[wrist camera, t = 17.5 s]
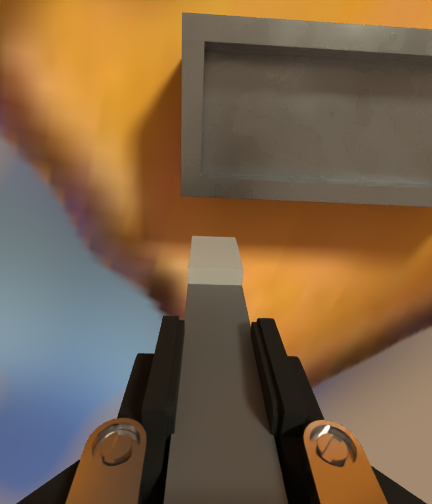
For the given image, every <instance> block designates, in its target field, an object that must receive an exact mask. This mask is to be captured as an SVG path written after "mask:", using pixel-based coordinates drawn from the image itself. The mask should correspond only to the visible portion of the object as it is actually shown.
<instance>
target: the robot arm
mask: <svg viewBox="0 0 432 504" xmlns="http://www.w3.org/2000/svg"><path fill="white" fill-rule="evenodd" d="M184 334H185V320H179V316H163V319H162V324H161V328H160V332H159V337H158V341H157V345H156V349H155V354H144V353H138V354H137V356H136V359H135V362H134V365H133V369H132V372H131V375H130V378H129V381H128V385H127V388H126V391H125V394H124V397H123V401H122V404H121V407H120V410H119V413H118V417H117V419H112V420H110V421H107V422H105V423H103V424H102V425H101V426H99V427H98V428H97V429H95V431H94V432H93V433H92V434H91V435H90V436H89V439H88V440H87V442H86V444H85V447H84V451H83V453H82V456H81V459H80V460H78V461H77V462H76V463H74V464H73V465H71V466H70V467H68V468H67V469H65V470H64V471H62V472H61V473H60V474H58V475H57V476H55V477H54V478H53V479H51V480H50V481H48V482H47V483H45V484H44V485H42V486H41V487H40V488H38V489H37V490H35V491H34V492H33V493H31V494H30V495H28V496H27V497H25V498H24V499H22V500H21V501H20V502H18V503H17V504H164V496H165V487H166V478H167V469H168V460H169V451H170V442H171V434H174V432H175V422H176V412H177V403H178V393H179V383H180V373H181V363H182V354H183V344H184ZM250 335H251V339H252V344H253V349H254V354H255V359H256V364H257V369H258V374H259V379H260V384H261V389H262V394H263V399H264V404H265V409H266V414H267V419H268V423H269V428H270V433H271V435H274V439H275V444H276V449H277V453H278V458H279V463H280V467H281V472H282V477H283V482H284V486H285V491H286V496H287V500H288V504H426V503H425V502H423V501H422V500H421V499H419V498H418V497H416V496H415V495H413V494H411V493H410V492H409V491H407V490H406V489H404V488H403V487H401V486H400V485H399V484H397V483H396V482H394V481H393V480H391V479H390V478H388V477H387V476H385V475H384V474H382V473H381V472H379V471H378V470H376V469H375V468H374V467H372V466H371V465H370V463H369V461H368V459H367V457H366V454H365V453H364V450H363V448H362V446H361V444H360V442H359V441H358V439H357V438H356V437H355V436H354V435H353V434H352V433H351V432H350V431H349V430H348V429H347V428H345V427H344V426H342V425H340V424H338V423H335V422H333V421H328V420H324V418H323V415H322V413H321V410H320V408H319V406H318V403H317V401H316V398H315V396H314V394H313V391H312V388H311V386H310V384H309V381H308V379H307V376H306V374H305V371H304V369H303V367H302V364H301V362H300V360H299V358H298V357H295V356H287V354H286V351H285V348H284V346H283V343H282V340H281V337H280V335H279V332H278V329H277V326H276V323H275V321H274V319H272V318H258V319H257V322H252V324H251V332H250Z"/></svg>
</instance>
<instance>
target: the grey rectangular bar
mask: <svg viewBox="0 0 432 504" xmlns="http://www.w3.org/2000/svg"><path fill="white" fill-rule="evenodd" d="M242 279H243V266H242V262H241V258H240V254H239V249H238V245H237V241H236V237H214V236H192V242H191V250H190V258H189V267H188V289H187V298H186V307H185V316H184V320H185V334H184V344H183V354H182V363H181V373H180V383H179V393H178V403H177V412H176V422H175V432H174V434H171V442H170V451H169V460H168V469H167V478H166V487H165V496H164V504H288V500H287V496H286V491H285V486H284V482H283V477H282V472H281V467H280V463H279V458H278V453H277V449H276V444H275V439H274V435H271V433H270V428H269V423H268V419H267V414H266V409H265V404H264V399H263V394H262V389H261V384H260V379H259V374H258V369H257V364H256V359H255V354H254V349H253V344H252V339H251V335H250V332H251V326H250V321H249V317H248V312H247V307H246V303H245V298H244V293H243V288H242Z"/></svg>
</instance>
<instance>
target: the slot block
mask: <svg viewBox="0 0 432 504" xmlns="http://www.w3.org/2000/svg"><path fill="white" fill-rule="evenodd" d="M181 196H192V197H215V198H237V199H260V200H283V201H306V202H328V203H351V204H374V205H397V206H419V207H432V29H417V28H402V27H388V26H373V25H358V24H344V23H329V22H314V21H299V20H285V19H270V18H255V17H241V16H226V15H211V14H196V13H182V108H181Z"/></svg>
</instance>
